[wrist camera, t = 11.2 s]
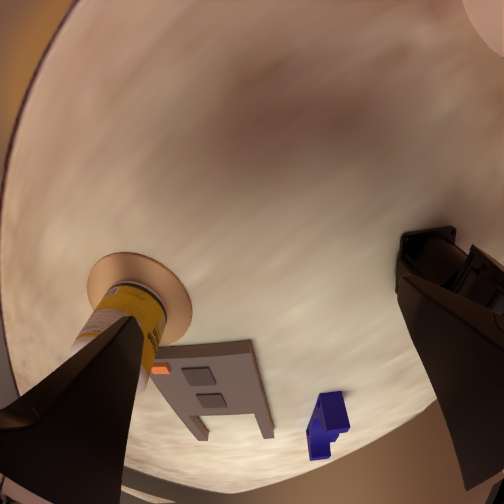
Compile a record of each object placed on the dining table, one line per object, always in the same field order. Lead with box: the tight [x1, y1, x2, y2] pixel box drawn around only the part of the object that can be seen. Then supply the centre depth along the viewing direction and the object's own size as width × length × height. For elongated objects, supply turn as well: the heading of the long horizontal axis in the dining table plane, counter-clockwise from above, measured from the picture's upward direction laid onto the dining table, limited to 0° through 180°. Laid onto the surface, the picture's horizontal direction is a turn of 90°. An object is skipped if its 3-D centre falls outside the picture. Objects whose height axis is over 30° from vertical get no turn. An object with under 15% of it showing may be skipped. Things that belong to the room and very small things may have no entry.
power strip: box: [150, 340, 274, 441], centre depth 31 cm, size 12×21×2 cm, turn 10°
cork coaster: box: [87, 253, 192, 346], centre depth 24 cm, size 11×11×1 cm
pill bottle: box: [70, 281, 167, 398], centre depth 19 cm, size 6×6×12 cm
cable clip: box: [306, 391, 350, 461], centre depth 32 cm, size 12×4×6 cm, turn 0°
